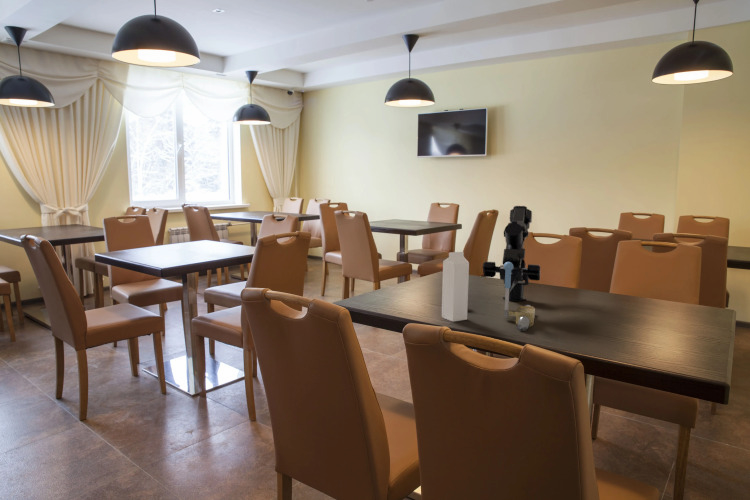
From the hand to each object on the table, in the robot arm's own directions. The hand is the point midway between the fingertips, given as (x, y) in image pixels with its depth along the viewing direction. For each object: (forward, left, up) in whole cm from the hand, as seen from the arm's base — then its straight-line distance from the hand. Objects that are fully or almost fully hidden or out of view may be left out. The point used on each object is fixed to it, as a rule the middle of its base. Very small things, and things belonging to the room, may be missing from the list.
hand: (508, 291), depth 165 cm
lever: (+4, +3, -7) cm, 9 cm away
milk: (+17, -8, -9) cm, 20 cm away
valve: (+1, +6, -9) cm, 11 cm away
